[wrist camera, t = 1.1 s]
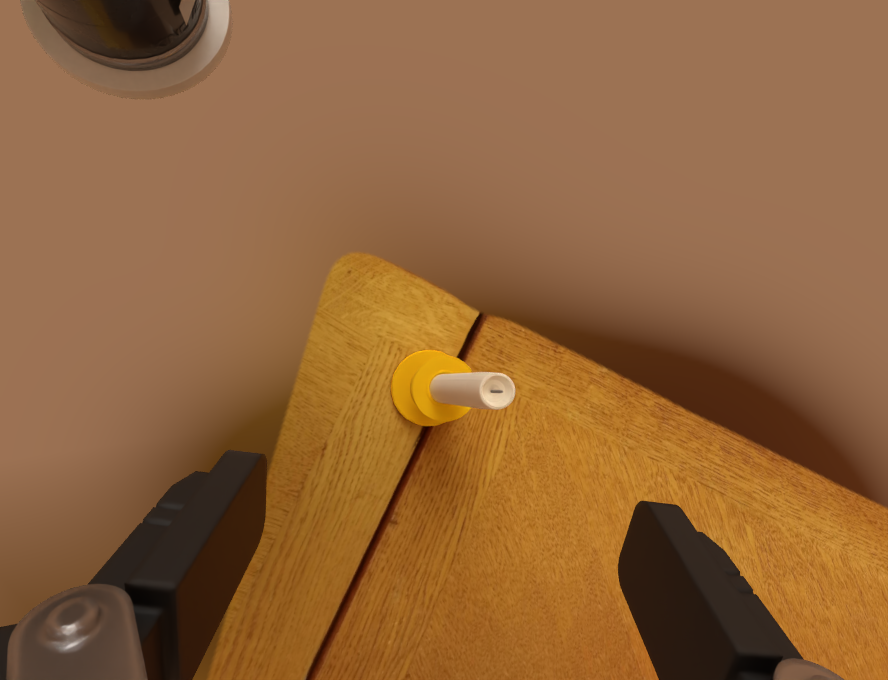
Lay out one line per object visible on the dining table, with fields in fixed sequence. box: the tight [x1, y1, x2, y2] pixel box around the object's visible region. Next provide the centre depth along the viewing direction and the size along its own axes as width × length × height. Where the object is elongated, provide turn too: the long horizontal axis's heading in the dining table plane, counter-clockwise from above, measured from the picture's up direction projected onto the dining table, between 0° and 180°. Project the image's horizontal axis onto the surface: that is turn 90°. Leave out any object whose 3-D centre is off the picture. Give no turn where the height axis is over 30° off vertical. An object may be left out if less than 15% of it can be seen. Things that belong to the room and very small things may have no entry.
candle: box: [391, 350, 515, 426], centre depth 27 cm, size 5×5×16 cm
